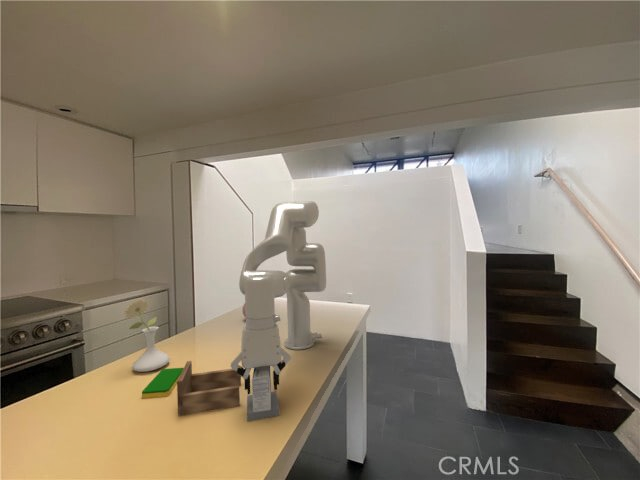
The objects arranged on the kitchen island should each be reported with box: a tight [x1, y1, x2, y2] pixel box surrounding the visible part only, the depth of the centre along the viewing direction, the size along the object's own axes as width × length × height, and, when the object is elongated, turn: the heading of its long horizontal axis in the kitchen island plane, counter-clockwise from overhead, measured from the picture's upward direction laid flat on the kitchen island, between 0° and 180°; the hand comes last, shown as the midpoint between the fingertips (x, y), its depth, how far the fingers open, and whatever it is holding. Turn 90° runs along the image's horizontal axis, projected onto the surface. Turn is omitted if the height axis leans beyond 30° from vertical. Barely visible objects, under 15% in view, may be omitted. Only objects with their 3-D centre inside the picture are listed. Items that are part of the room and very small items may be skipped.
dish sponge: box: [141, 367, 184, 400], centre depth 86 cm, size 7×14×2 cm, turn 7°
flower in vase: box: [123, 298, 170, 373], centre depth 97 cm, size 13×11×25 cm
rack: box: [176, 360, 242, 417], centre depth 78 cm, size 15×12×9 cm
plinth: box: [246, 390, 280, 422], centre depth 73 cm, size 8×8×2 cm
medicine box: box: [251, 366, 272, 412], centre depth 72 cm, size 8×4×9 cm, turn 10°
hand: (262, 388), depth 73 cm, fingers open, 6 cm apart
